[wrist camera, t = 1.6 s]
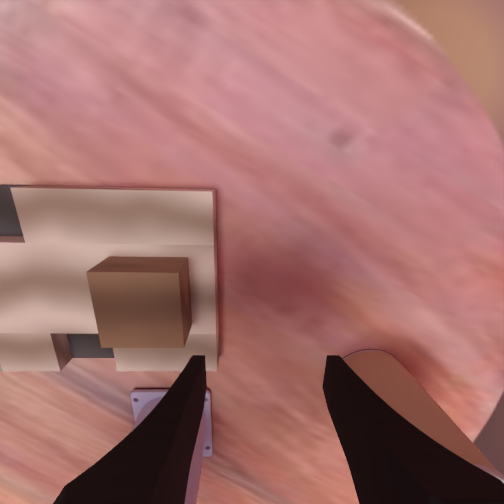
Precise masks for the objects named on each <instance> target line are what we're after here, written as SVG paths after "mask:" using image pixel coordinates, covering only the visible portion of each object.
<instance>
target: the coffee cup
mask: <svg viewBox="0 0 504 504" xmlns="http://www.w3.org/2000/svg"><path fill="white" fill-rule="evenodd" d="M343 360H344V361H345V362H346V363H347V364H348V366H349V367H350V368H351V369H352V370H353V371H354V372H355V373H356V374H357V375H358V376H359V377H360V378H361V379H362V380H363V381H364V382H365V383H366V384H367V385H368V386H369V387H370V388H371V389H372V390H373V391H374V392H375V393H376V394H377V395H378V396H379V397H380V398H381V399H383V400H384V401H385V402H386V403H387V404H388V405H389V406H390V407H391V408H393V409H394V410H395V411H396V412H397V413H399V414H400V415H401V416H402V417H404V418H405V419H406V420H407V421H409V422H410V423H411V424H413V425H414V426H415V427H417V428H418V429H419V430H421V431H422V432H423V433H425V434H426V435H428V436H429V437H431V438H432V439H433V440H435V441H436V442H438V443H439V444H441V445H442V446H444V447H445V448H447V449H448V450H450V451H452V452H453V453H455V454H456V455H458V456H460V457H461V458H463V459H464V460H466V461H468V462H470V463H471V464H473V465H475V466H477V467H478V468H480V469H482V470H484V471H486V472H487V473H489V474H491V475H493V476H494V477H496V478H498V479H500V480H501V481H502V482H503V483H504V476H503V475H502V474H501V473H499V472H497V470H496V469H495V468H494V467H493V466H492V465H491V463H490V462H489V461H488V460H487V459H486V458H485V456H484V455H483V454H482V453H481V452H480V451H479V450H478V449H477V447H476V446H475V445H474V444H473V443H472V442H471V441H470V440H469V438H468V437H467V436H466V435H465V434H464V433H463V432H462V431H461V429H460V428H459V427H458V426H457V425H456V424H455V423H454V422H453V421H452V419H451V418H450V417H449V416H448V415H447V414H446V413H445V412H444V411H443V409H442V408H441V407H440V406H439V405H438V404H437V403H436V402H435V400H434V399H433V398H432V397H431V396H430V395H429V394H428V393H427V392H426V391H425V389H424V388H423V387H422V386H421V385H420V384H419V383H418V382H417V381H416V380H415V378H414V377H413V376H412V375H411V374H410V373H409V372H408V371H407V370H406V369H405V367H404V366H403V365H402V364H401V363H400V362H399V361H398V360H397V359H396V358H395V357H393V356H392V355H390V354H388V353H386V352H384V351H380V350H362V351H358V352H355V353H352V354H350V355H348V356H346V357H345V358H343Z"/></svg>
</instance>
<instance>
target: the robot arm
mask: <svg viewBox="0 0 504 504" xmlns="http://www.w3.org/2000/svg"><path fill="white" fill-rule="evenodd" d="M206 388H207V385H206V363H205V355H193V356H192V357H191V358H190V359H189V361H188V363H187V364H186V366H185V368H184V369H183V371H182V372H181V374H180V375H179V377H178V378H177V379H176V381H175V382H174V384H173V385H172V386H171V388H170V389H152V390H133V391H132V393H131V395H130V396H131V402H132V408H133V414H134V420H135V424H134V426H133V428H132V431H131V433H130V434H129V435H128V436H126V437H125V438H124V439H123V440H122V441H121V442H120V443H119V444H118V445H117V446H115V447H114V448H113V449H112V450H111V451H109V452H108V453H107V454H106V455H105V456H104V457H102V458H101V459H100V460H99V461H98V462H96V463H95V464H94V465H93V466H91V467H90V468H89V469H87V470H86V471H85V472H83V473H82V474H81V475H79V476H78V477H77V478H75V479H74V480H73V481H71V482H70V483H68V484H67V485H65V487H64V488H63V490H62V491H61V493H60V494H59V496H58V497H57V498H56V500H55V501H54V503H53V504H196V501H197V494H198V487H199V480H200V474H201V467H202V460H203V457H210V456H211V455H212V452H213V447H212V422H211V397H210V391H209V390H206ZM323 390H324V395H325V399H326V403H327V407H328V410H329V413H330V415H331V418H332V421H333V424H334V426H335V429H336V432H337V434H338V437H339V440H340V443H341V445H342V448H343V451H344V453H345V456H346V459H347V462H348V465H349V468H350V471H351V475H352V478H353V482H354V486H355V489H356V493H357V496H358V500H359V504H504V483H503V482H502V481H501V480H500V479H498V478H496V477H494V476H493V475H491V474H489V473H487V472H486V471H484V470H482V469H480V468H478V467H477V466H475V465H473V464H471V463H470V462H468V461H466V460H464V459H463V458H461V457H460V456H458V455H456V454H455V453H453V452H452V451H450V450H448V449H447V448H445V447H444V446H442V445H441V444H439V443H438V442H436V441H435V440H433V439H432V438H431V437H429V436H428V435H426V434H425V433H423V432H422V431H421V430H419V429H418V428H417V427H415V426H414V425H413V424H411V423H410V422H409V421H407V420H406V419H405V418H404V417H402V416H401V415H400V414H399V413H397V412H396V411H395V410H394V409H393V408H391V407H390V406H389V405H388V404H387V403H386V402H385V401H384V400H383V399H381V398H380V397H379V396H378V395H377V394H376V393H375V392H374V391H373V390H372V389H371V388H370V387H369V386H368V385H367V384H366V383H365V382H364V381H363V380H362V379H361V378H360V377H359V376H358V375H357V374H356V373H355V372H354V371H353V370H352V369H351V368H350V367H349V366H348V364H347V363H346V362H345V361H344V360H343V359H342V358H341V357H340V356H329V355H327V360H326V367H325V374H324V381H323Z"/></svg>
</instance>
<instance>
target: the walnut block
mask: <svg viewBox="0 0 504 504" xmlns="http://www.w3.org/2000/svg"><path fill="white" fill-rule="evenodd" d="M86 274H87V279H88V284H89V289H90V294H91V299H92V304H93V309H94V314H95V319H96V324H97V329H98V334H99V339H100V344H101V348H184V347H185V344H186V341H187V338H188V335H189V332H190V329H191V326H192V311H191V295H190V279H189V263H188V257H119V256H109V257H107V258H106V259H104V260H103V261H101V262H100V263H98V264H97V265H96V266H94V267H93V268H91V269H90V270H88V271H87V272H86Z"/></svg>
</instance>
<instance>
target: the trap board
mask: <svg viewBox="0 0 504 504" xmlns="http://www.w3.org/2000/svg"><path fill="white" fill-rule="evenodd" d="M109 256H119V257H188V263H189V279H190V295H191V311H192V326H191V329H190V332H189V335H188V338H187V341H186V344H185V347H184V348H101V344H100V339H99V334H98V329H97V324H96V319H95V314H94V309H93V304H92V299H91V294H90V289H89V284H88V279H87V274H86V272H87V271H88V270H90V269H91V268H93V267H94V266H96V265H97V264H98V263H100V262H101V261H103V260H104V259H106V258H107V257H109ZM193 355H205V363H206V371H217V370H218V363H219V315H218V273H217V231H216V189H191V188H140V187H89V186H38V185H0V371H61V370H62V369H63V368H64V367H65V366H66V364H67V363H68V362H69V361H70V360H71V359H72V358H115V363H116V368H117V371H183V369H184V368H185V366H186V364H187V363H188V361H189V359H190V358H191V357H192V356H193Z"/></svg>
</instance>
